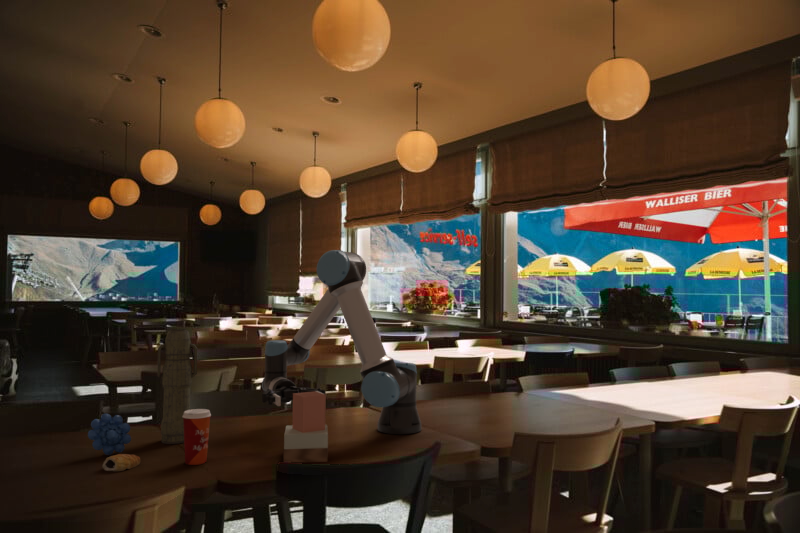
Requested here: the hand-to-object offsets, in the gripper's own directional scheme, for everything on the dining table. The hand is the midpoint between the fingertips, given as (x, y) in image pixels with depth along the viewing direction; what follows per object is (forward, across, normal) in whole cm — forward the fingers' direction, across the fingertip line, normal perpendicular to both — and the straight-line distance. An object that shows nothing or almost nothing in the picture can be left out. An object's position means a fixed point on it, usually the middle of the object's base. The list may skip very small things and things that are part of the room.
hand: (301, 399), depth 185 cm
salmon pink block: (+9, 0, -7) cm, 11 cm away
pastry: (-1, +49, -15) cm, 52 cm away
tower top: (+9, +1, -11) cm, 14 cm away
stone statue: (-26, +33, -15) cm, 45 cm away
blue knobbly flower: (-15, +52, -15) cm, 56 cm away
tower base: (+9, +1, -15) cm, 18 cm away
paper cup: (+2, +31, -15) cm, 34 cm away
